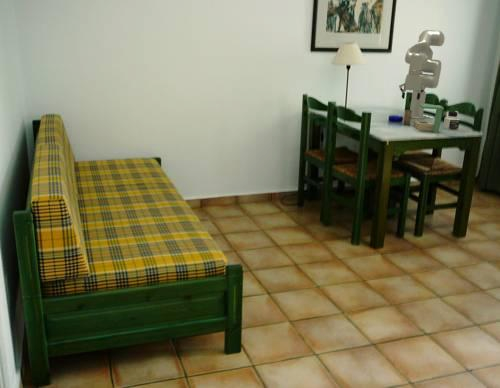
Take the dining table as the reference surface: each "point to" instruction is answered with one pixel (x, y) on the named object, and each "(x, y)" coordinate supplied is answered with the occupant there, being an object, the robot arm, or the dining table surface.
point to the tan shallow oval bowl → (423, 125)
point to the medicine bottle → (451, 121)
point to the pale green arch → (437, 115)
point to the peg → (407, 117)
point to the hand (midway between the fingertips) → (410, 99)
